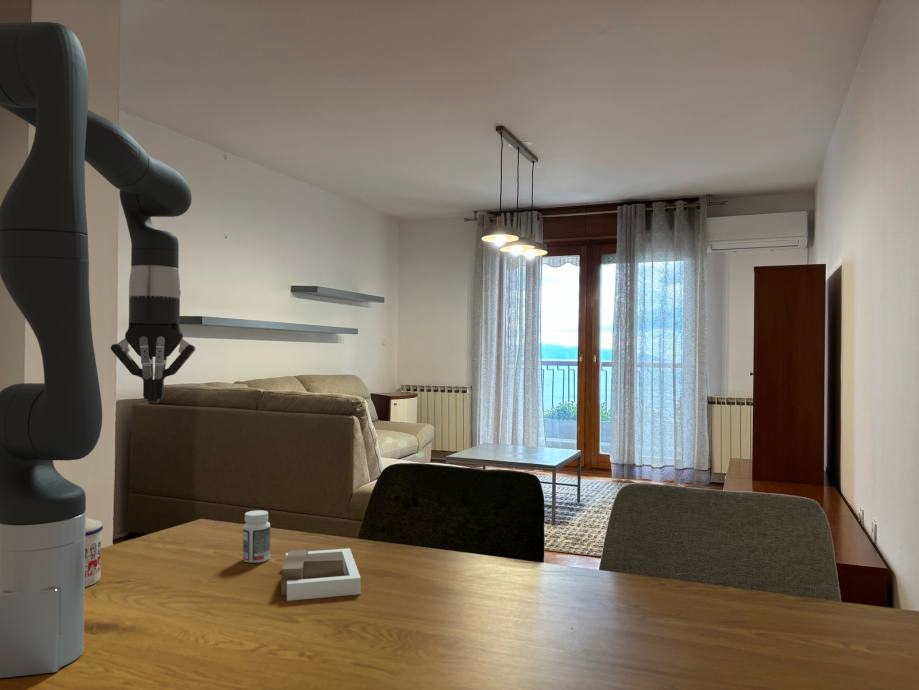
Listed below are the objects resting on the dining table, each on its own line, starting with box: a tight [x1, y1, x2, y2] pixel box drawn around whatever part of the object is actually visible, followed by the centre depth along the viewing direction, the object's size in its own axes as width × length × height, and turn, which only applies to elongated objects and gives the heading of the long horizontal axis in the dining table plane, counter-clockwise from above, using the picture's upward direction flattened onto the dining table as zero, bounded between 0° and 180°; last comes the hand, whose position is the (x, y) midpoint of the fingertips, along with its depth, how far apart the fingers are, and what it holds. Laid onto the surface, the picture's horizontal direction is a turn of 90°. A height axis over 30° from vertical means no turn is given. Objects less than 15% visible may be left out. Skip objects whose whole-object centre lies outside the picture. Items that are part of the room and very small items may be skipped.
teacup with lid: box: [85, 517, 104, 588], centre depth 108 cm, size 12×9×12 cm
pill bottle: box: [242, 509, 271, 564], centre depth 119 cm, size 5×5×8 cm
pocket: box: [285, 547, 362, 602], centre depth 109 cm, size 16×11×2 cm
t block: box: [280, 548, 344, 596], centre depth 107 cm, size 10×9×4 cm
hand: (153, 402), depth 108 cm, fingers closed
